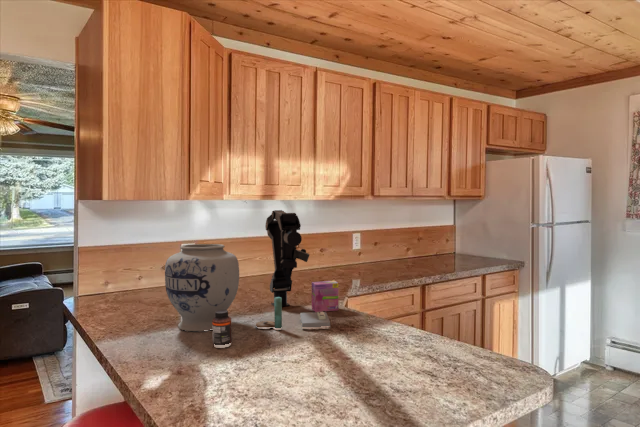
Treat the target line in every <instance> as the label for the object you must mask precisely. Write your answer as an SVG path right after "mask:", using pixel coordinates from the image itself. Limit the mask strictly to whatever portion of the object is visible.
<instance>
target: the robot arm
mask: <svg viewBox="0 0 640 427" xmlns="http://www.w3.org/2000/svg"><path fill="white" fill-rule="evenodd" d="M301 225H302V224H301V222H300V219H299V216H298V215H297V213H296V212H286V211H285V210H282V209H279V210H275V209H274V210H272V211H271V214H270V215H268V217H267V218H266V220H265V230H266V233H267V237H268V238H269V239H270V240H271V245H272V257H273V264H274V265H273V266H274V272H273V274H272V275H271V280H270V284H269V292H270V293H272V294H273V299H274V298H275V297H281V298H282V307H288V306H291V304H290V303H288V292H292V285H293V280H292V274H293V271H294V269H295V268H298V263H297V260H300V261H303V262H305V263H308V262H309V261H308V260H309V258H310V253H309V252H307V250H306V249H305V248H301V249H297V247H298V246H299V245H300V244H301V243H302V241H303V238H302V235H301V234H300V232H298V231H300V230H301ZM271 305H272V307H273V306H274V302H271Z"/></svg>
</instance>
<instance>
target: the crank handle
mask: <svg viewBox="0 0 640 427" xmlns="http://www.w3.org/2000/svg"><path fill="white" fill-rule="evenodd" d="M273 303H274V321H272V320H262V321H258V322H256V323H255V327H256V326H257V327H275V328H281V327H282V328H283V308H282V307H283V306H282V298H281V297H275V298H274V297H273Z"/></svg>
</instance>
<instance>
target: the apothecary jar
mask: <svg viewBox="0 0 640 427" xmlns="http://www.w3.org/2000/svg"><path fill="white" fill-rule="evenodd" d="M224 248H225V244H222V243H220V244H219V243H198V244H197V243H193V244H191V243H190V244H183V245H180V249H181V251H180V252H176V253H174V254H172V255H171V256H169V257H168V258H167V260H166V262H165V266H164V285H165V291H166V295H167V298H168V300H169V302H170V304H171V305H172V306H173V308H174V310H176V311H177V313H178V314H179V315H180V317H181V318H182V319H181V321H180V322H179V323H178V324H177V327H178V329H179V330H181V329H182V330H181V331H183V330H186V331H185V332H188V331H204V330H210V329H213V328H212V321H213V319H214V318H215V312H216V311H217V310H228V309H229V307H231V305H232V304H233V302H234V300H235V299H236V296H237V293H238V289H239V284H240V283H239V282H240V264H239V260H238V257H237V256H236V255H235V254H234V253H232V252H229V251H226V250H225V249H224Z"/></svg>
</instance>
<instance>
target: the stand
mask: <svg viewBox="0 0 640 427" xmlns="http://www.w3.org/2000/svg"><path fill="white" fill-rule="evenodd" d="M299 314H300V315H299V316H300V318H301V320H300V324H301V323H302V325H301V328H302V327H321V326H330V327H331V321H330V318H329V316H328V313H327V311H325V312H314V311H313V312H300V313H299Z"/></svg>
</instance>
